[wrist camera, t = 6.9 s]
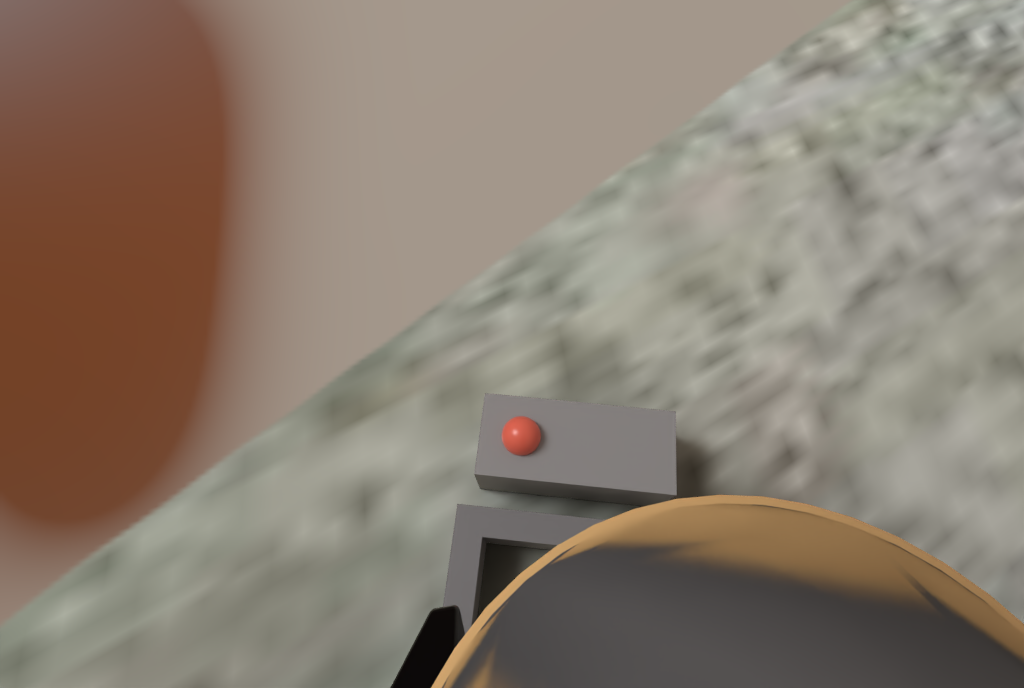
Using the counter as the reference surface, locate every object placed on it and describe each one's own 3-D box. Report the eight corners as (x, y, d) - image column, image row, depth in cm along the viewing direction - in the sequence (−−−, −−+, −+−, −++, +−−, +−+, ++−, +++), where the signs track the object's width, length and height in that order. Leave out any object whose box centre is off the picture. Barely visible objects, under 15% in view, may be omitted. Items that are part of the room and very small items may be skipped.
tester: (670, 434, 23) (695, 405, 20) (671, 791, 18) (706, 837, 15) (477, 415, 24) (469, 384, 20) (430, 758, 19) (410, 795, 15)
